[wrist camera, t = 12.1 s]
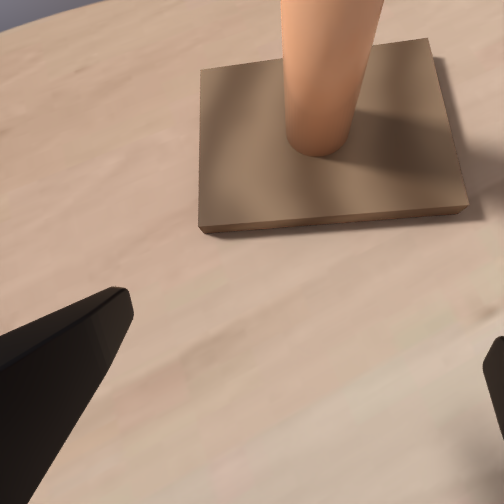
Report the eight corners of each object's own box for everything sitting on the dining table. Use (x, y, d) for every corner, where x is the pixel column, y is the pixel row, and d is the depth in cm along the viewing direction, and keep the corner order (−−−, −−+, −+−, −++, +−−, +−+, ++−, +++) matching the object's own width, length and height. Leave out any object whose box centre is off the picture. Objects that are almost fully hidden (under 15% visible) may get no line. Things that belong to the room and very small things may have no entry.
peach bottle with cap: (357, 111, 23) (452, -230, 9) (336, 164, 22) (407, -128, 8) (299, 97, 24) (305, -230, 10) (276, 146, 23) (250, -140, 9)
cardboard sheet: (420, 55, 25) (427, 37, 24) (457, 213, 21) (469, 204, 20) (205, 84, 27) (200, 69, 26) (204, 233, 24) (198, 226, 22)
